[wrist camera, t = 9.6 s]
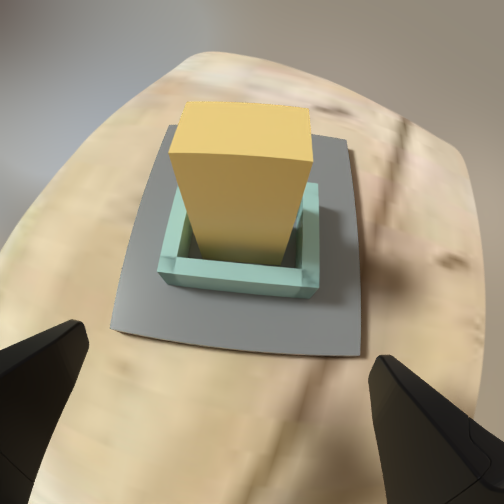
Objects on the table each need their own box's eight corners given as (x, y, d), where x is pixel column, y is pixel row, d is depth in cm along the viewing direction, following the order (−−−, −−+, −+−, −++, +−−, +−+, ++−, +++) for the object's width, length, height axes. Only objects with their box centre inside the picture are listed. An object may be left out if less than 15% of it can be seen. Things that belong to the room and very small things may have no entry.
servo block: (280, 265, 18) (313, 161, 9) (202, 259, 18) (168, 152, 9) (281, 224, 20) (308, 108, 10) (209, 218, 20) (186, 101, 10)
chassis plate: (354, 356, 17) (376, 352, 14) (115, 330, 17) (91, 321, 14) (343, 147, 24) (353, 120, 21) (171, 132, 24) (164, 104, 21)
